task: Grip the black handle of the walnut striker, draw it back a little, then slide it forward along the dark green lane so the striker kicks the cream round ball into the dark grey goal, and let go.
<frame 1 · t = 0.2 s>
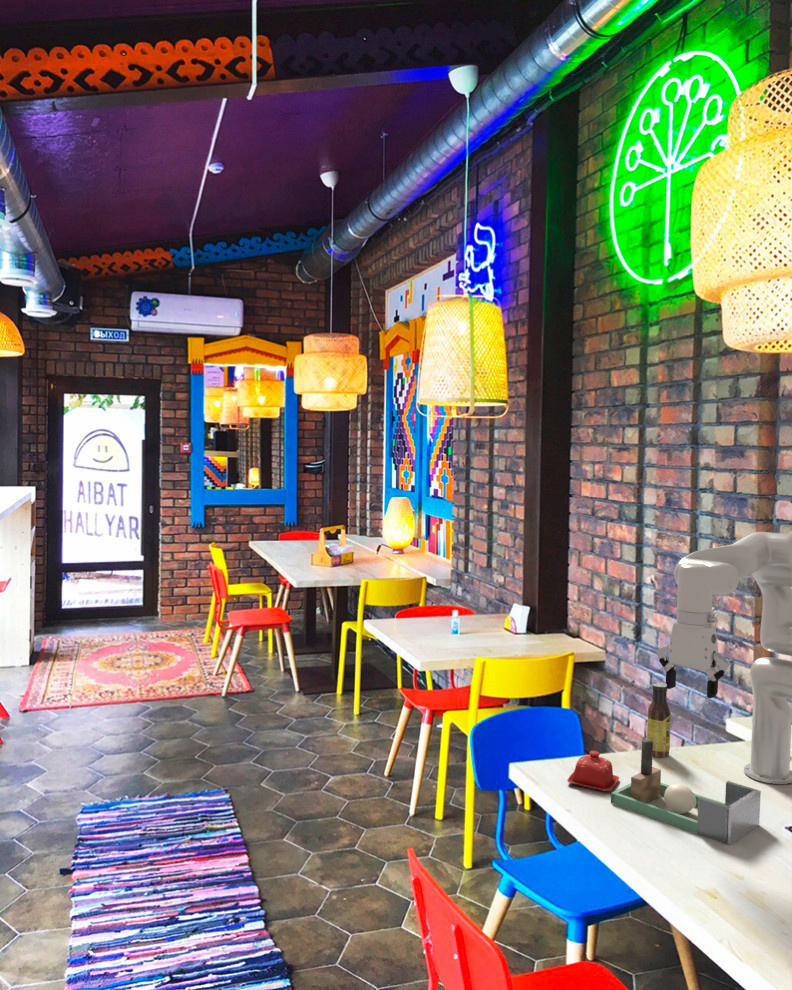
hand: (690, 692, 190), 31 cm above the table, tool pointing down, fingers open, 9 cm apart
sauce bottle: (657, 755, 236), on the table
striker: (646, 770, 203), point 8 cm above the table, slide at 0.0 cm
goal: (729, 829, 189), on the table
lane: (668, 808, 199), on the table
butter dish: (593, 784, 214), on the table
cream round ball: (679, 813, 197), on the table
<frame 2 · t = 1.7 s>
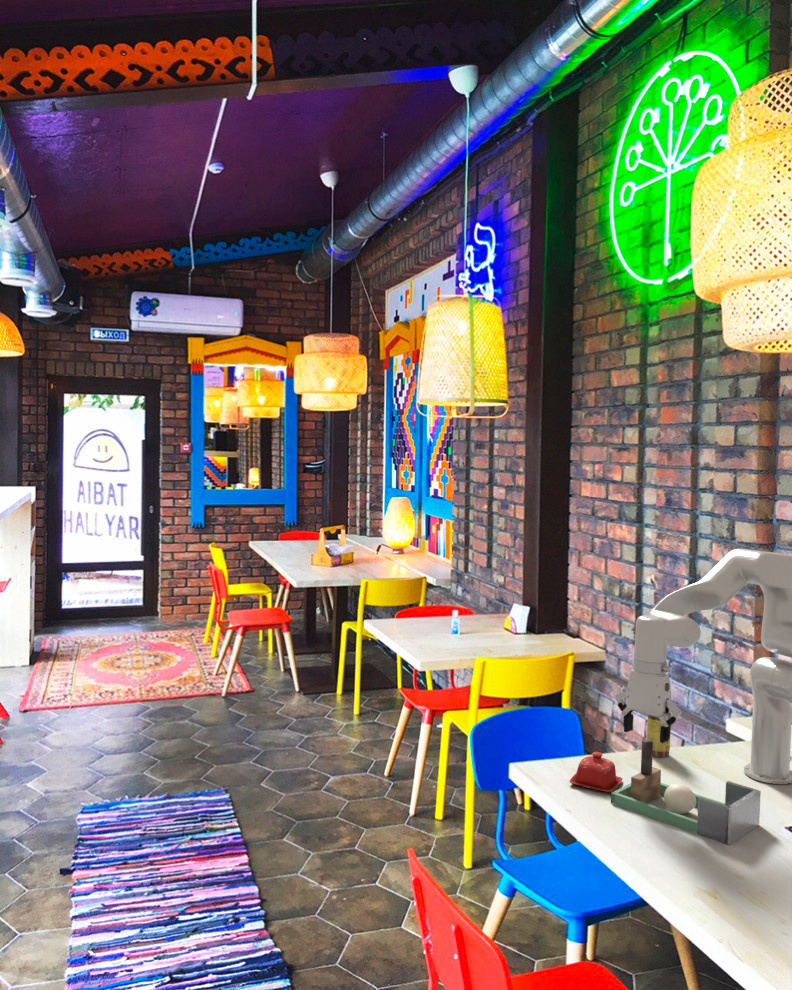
hand: (645, 736, 203), 16 cm above the table, tool pointing down, fingers open, 9 cm apart
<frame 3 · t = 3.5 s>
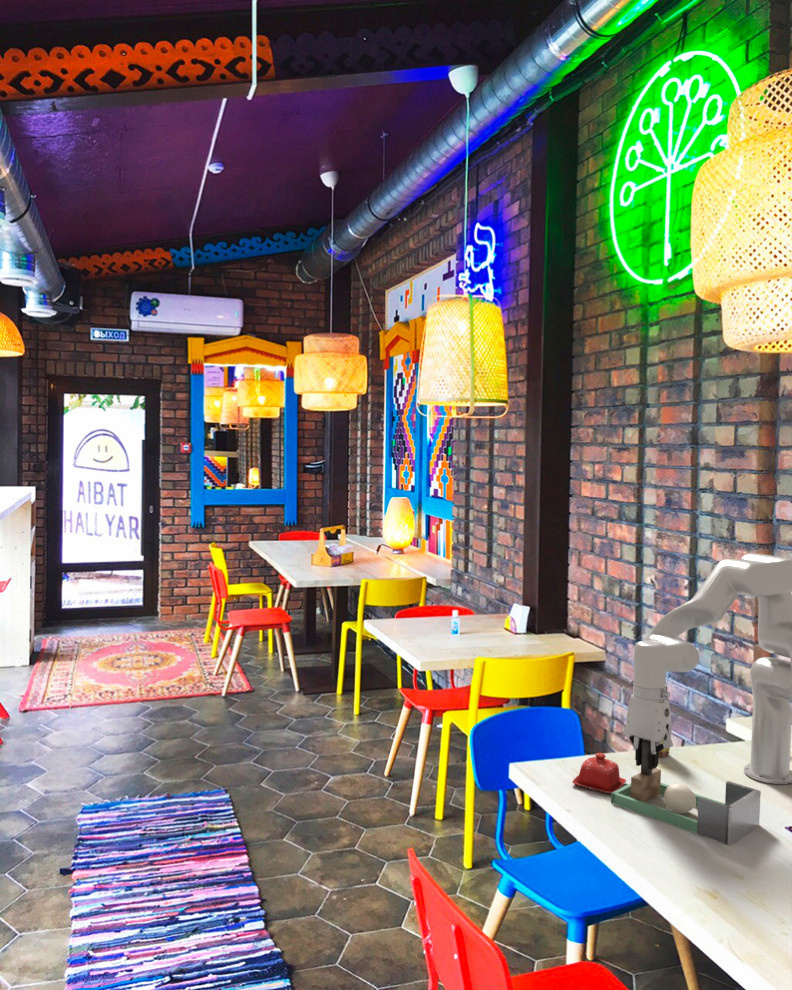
hand: (646, 765, 203), 9 cm above the table, tool pointing down, fingers closed on striker, 2 cm apart
striker: (646, 770, 203), point 8 cm above the table, slide at 0.0 cm, touching gripper
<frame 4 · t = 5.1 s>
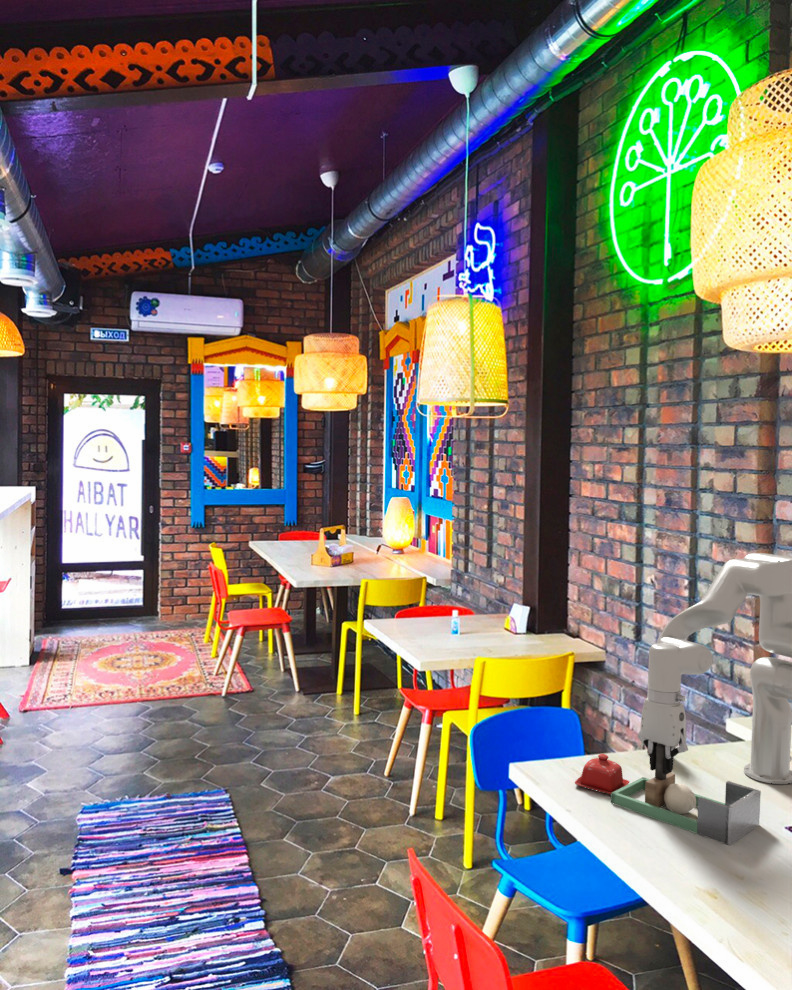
hand: (661, 770, 200), 9 cm above the table, tool pointing down, fingers closed on striker, 2 cm apart
striker: (660, 774, 201), point 8 cm above the table, slide at 3.8 cm, touching gripper
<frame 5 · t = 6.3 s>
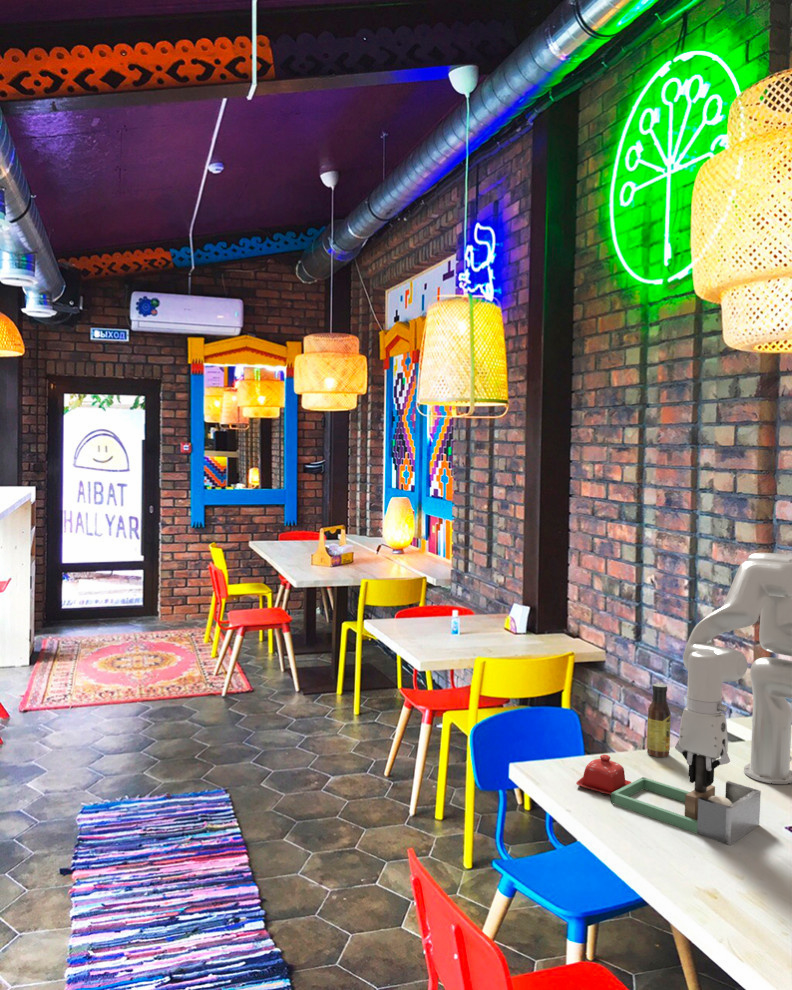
hand: (700, 782, 193), 9 cm above the table, tool pointing down, fingers closed on striker, 2 cm apart
striker: (700, 787, 193), point 8 cm above the table, slide at 13.9 cm, touching cream round ball, gripper
cream round ball: (719, 826, 190), on the table, touching striker
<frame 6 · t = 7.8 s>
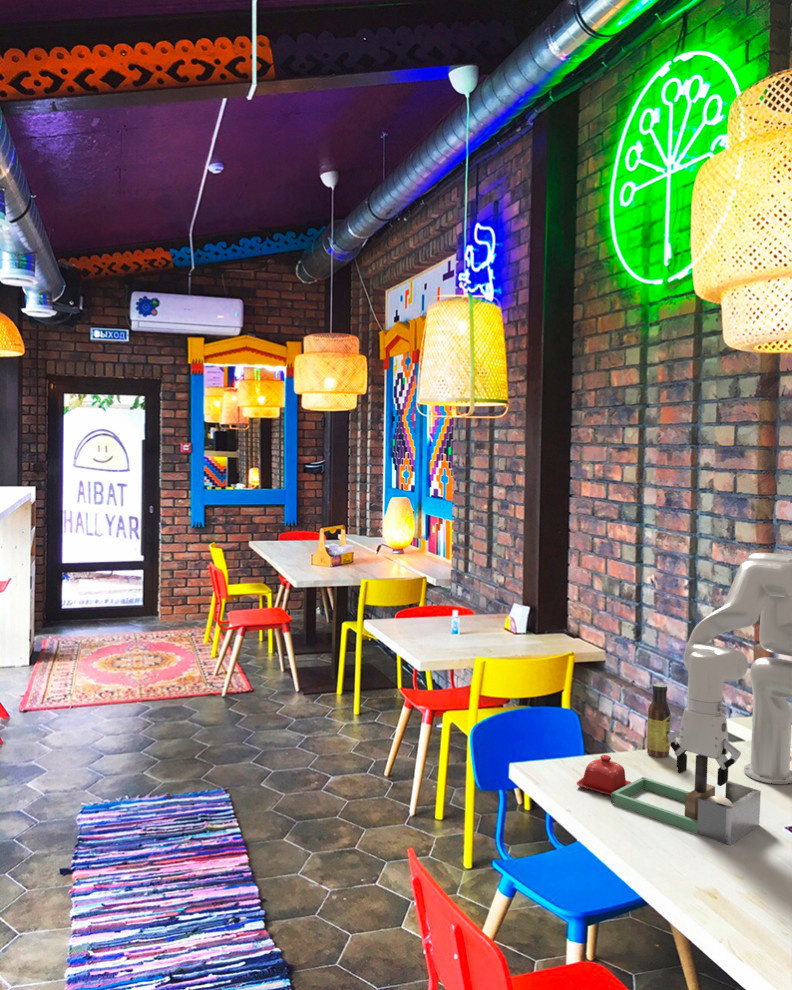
hand: (701, 778, 193), 10 cm above the table, tool pointing down, fingers open, 9 cm apart
striker: (700, 787, 193), point 8 cm above the table, slide at 13.9 cm
cream round ball: (719, 826, 190), on the table
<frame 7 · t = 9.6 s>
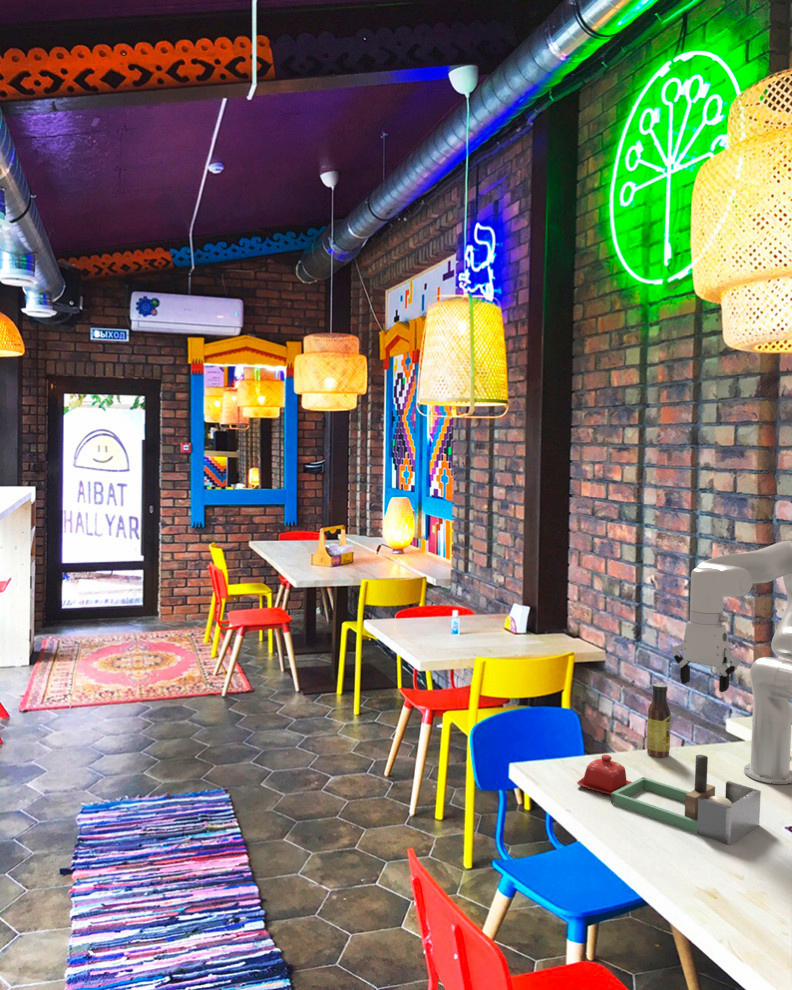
hand: (704, 686, 205), 28 cm above the table, tool pointing down, fingers open, 9 cm apart
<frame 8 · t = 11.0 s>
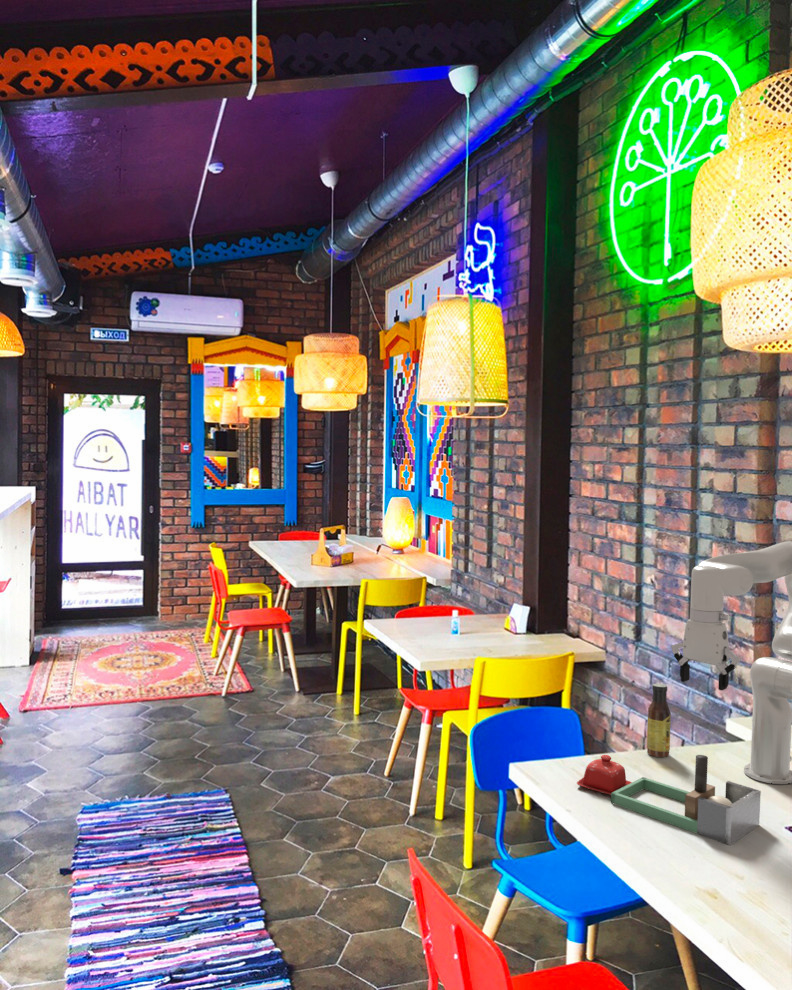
hand: (703, 685, 205), 28 cm above the table, tool pointing down, fingers open, 9 cm apart
at the end: cream round ball inside the target area (2.1 cm from its centre), on the table; striker slide at 13.9 cm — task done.
